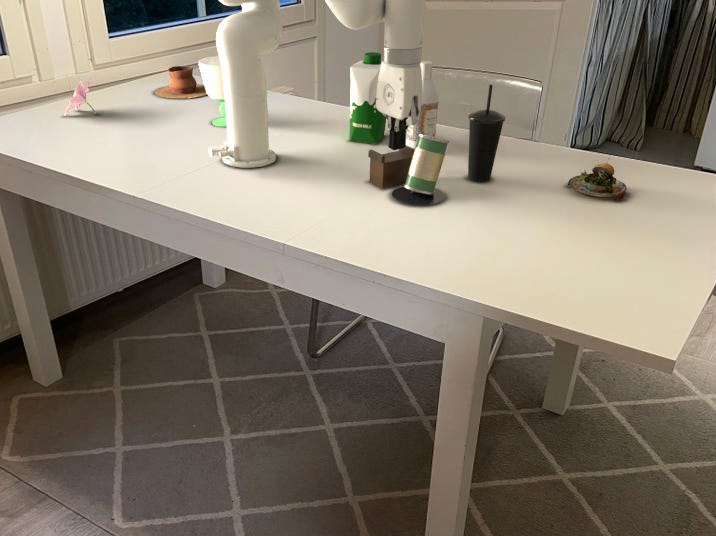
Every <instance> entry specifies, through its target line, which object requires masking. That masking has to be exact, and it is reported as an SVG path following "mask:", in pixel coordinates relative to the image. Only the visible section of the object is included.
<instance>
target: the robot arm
mask: <svg viewBox="0 0 716 536" xmlns="http://www.w3.org/2000/svg"><path fill="white" fill-rule="evenodd" d="M218 2H220V3H221V4H222V5H224V6H228V7H237V6H241V9H242V11H239V12H236V13H233V14H230V15H228V16H227V17H225V18H224V19H223V20H222V21H221V22H220V23H219V25H218V27H217V30H216V35H215V43H216V49H217V53H218V56H219V57H220V62H221V67H222V73H223V83H224V94H225V107H226V121H227V127H226V133H227V134H226V135H227V140H223V144H221V146H218V147H217V146H216V147H209V148H208V154H209V157H210V158H213V157H217V156H218V157H219V158H220V159H222V161H223V163H224V164H226V165H228V166H230V167H234V168H243V169H251V168H253V169H254V168H260V167H265V166H268V165H271V164H273V163H274V162H275V161H276V160H277V154H276V152H275V151H274V150H272V149H270V139H269V138H270V137H269V115H268V112H269V111H268V91H267V79H266V74H265V73H266V72H265V69H264V67H263V64H262V60H261V57H262V56H265V55H267V54H270V53H272V52H273V51H275V50H276V49H278V47H279V46H280V44H281V42H282V39H283V34H284V25H283V17H282V10H281V2H280V0H218ZM324 3H326V5H327V6H328V8H329V9H330V11H331V12H332V13H333V15H334V17H335V18H336V19H337V20H338V21H339V22H340V23H341V24H342V25H343V26H344V27H346V28H347V29H350V30H354V31H361V30H363V29H366V28H369V27H370V26H373V25H378V24H380V23H384V28H383V29H384V30H383V52H382V53H383V54H382V60H381V66H380V70H379V76H378V83H377V93H376V108H377V110H378V111H380V112H382V114H383V115H384V116H385V117H386V121H387V128H388V129H389V133H388V148H389V149H390V150H392V151H399V149H403V148H405V145H406V137H407V130H408V127H409V126H411V125H416V123H417V120H416V117H417V116H419V114H420V111H421V102H422V72H421V66H420V65H421V62H422V51H423V40H424V39H423V37H424V25H425V9H426V0H324Z"/></svg>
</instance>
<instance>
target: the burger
mask: <svg viewBox="0 0 716 536" xmlns="http://www.w3.org/2000/svg"><path fill="white" fill-rule="evenodd" d="M610 158H611V156H608V160H607V161H606V162H602V163H597V164H595V165H594V166H593V167H592V169H591V172H592V173H591V172H590V173H588V172H586V171H587V170H586V169H584V171H583V172H582V171H581V172H580V175H575V176H573V177H571V178H569V179H568V181H567V187H569V186H571V187H572V189H574V191H577V192H578V193H581V194H584V195H588V196H592V197H600V198H603V197H604V198H605V197H608V198H609V197H614V196H617V197H616V201H617V202H620V201H622V200H624V198H625V195H627V189H628V188H627V185H626V184H625V183H624V182H623V181H621V180H619V179H617V177H615V176H614V175H615V169H614V166H613V165H611V164H610V163H608V162H609V160H610Z"/></svg>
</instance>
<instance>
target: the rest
mask: <svg viewBox="0 0 716 536" xmlns="http://www.w3.org/2000/svg"><path fill="white" fill-rule="evenodd" d="M414 150H415V149H414V148H412V147H410V146H407V145H406V144H405V148H403V149H398V150H394V151H390V152H386V153H380V152H377V151H375V150H374V149H368V158H369V178H368V179H369V180H368V182H369V183H370V184H372V185H374V186H376V187H378V188H379V189H382V190H385V189H389V188H393V187H398V186H401V185H404V184H405V183H406V179H407V176H408V172H409V168H410V164H411V161H412V157H413V154H414Z"/></svg>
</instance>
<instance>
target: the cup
mask: <svg viewBox="0 0 716 536" xmlns="http://www.w3.org/2000/svg"><path fill="white" fill-rule="evenodd" d="M198 66H199V70H200V74H201V77H202V81H203V85H205V88H206V92H207V94H206V95H208V96H209V97H210V98H211V99H212V100H214V101H217V102H220V103H221V104H220V106H219V113H220V115H221V116H222V117H218V118H215V119H213V120H212V124H213V126H216V127H221V128H227V121H226V107H225V94H224V83H223V73H222V67H221V62H220V57H219V55H213V56H209V57H204V58H201V59H199V61H198Z"/></svg>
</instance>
